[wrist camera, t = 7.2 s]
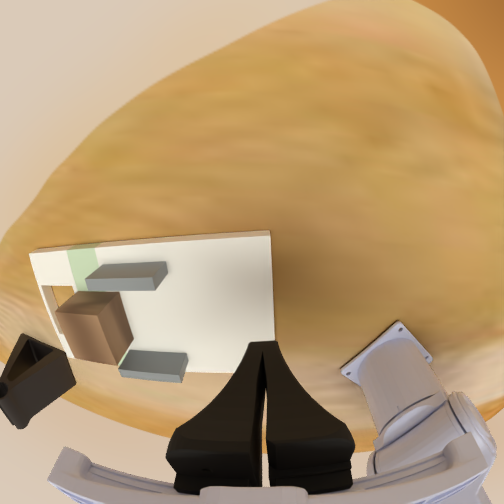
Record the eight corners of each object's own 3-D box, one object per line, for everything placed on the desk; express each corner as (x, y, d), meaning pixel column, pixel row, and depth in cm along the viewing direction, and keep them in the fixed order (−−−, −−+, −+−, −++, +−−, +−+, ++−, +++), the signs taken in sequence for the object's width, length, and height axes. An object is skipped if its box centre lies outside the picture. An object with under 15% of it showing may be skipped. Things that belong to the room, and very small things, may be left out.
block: (119, 291, 21) (97, 315, 18) (134, 338, 23) (117, 365, 19) (77, 291, 22) (54, 311, 18) (93, 334, 23) (74, 358, 20)
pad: (102, 242, 22) (94, 247, 20) (137, 358, 26) (132, 367, 24) (75, 245, 22) (66, 250, 20) (111, 355, 26) (106, 363, 25)
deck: (269, 230, 21) (272, 249, 17) (274, 361, 25) (276, 394, 21) (37, 248, 22) (10, 264, 18) (73, 349, 26) (56, 372, 22)
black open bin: (34, 363, 28) (-5, 412, 17) (22, 332, 26) (-25, 381, 15) (76, 383, 29) (39, 443, 17) (65, 352, 27) (18, 414, 15)
